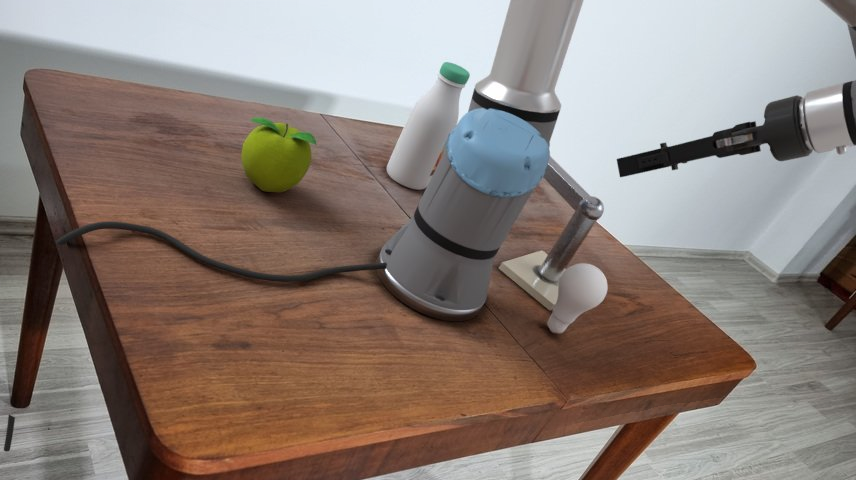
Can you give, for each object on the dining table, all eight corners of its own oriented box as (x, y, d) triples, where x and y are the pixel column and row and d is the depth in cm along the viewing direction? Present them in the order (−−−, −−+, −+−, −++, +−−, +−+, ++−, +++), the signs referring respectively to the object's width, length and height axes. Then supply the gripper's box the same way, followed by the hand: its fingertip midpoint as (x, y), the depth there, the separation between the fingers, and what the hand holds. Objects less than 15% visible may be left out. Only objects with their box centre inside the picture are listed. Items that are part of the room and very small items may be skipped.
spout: (563, 283, 106) (613, 207, 99) (545, 281, 105) (595, 204, 97) (512, 222, 117) (554, 150, 110) (495, 219, 116) (537, 146, 108)
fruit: (286, 213, 96) (309, 149, 90) (224, 184, 96) (243, 118, 91) (306, 188, 104) (329, 128, 98) (249, 161, 104) (268, 99, 98)
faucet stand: (549, 310, 101) (553, 304, 100) (498, 268, 106) (501, 262, 105) (587, 294, 109) (591, 288, 109) (538, 255, 114) (542, 250, 113)
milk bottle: (415, 195, 115) (469, 82, 105) (377, 171, 117) (426, 58, 107) (434, 184, 122) (486, 77, 111) (397, 162, 124) (445, 54, 113)
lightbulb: (579, 339, 98) (624, 278, 92) (559, 351, 93) (604, 287, 87) (545, 311, 100) (586, 250, 94) (524, 322, 96) (565, 258, 90)
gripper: (800, 158, 82) (605, 197, 98) (824, 152, 91) (642, 189, 107) (789, 93, 81) (595, 144, 98) (814, 94, 90) (633, 140, 107)
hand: (620, 167), depth 103 cm, fingers closed
